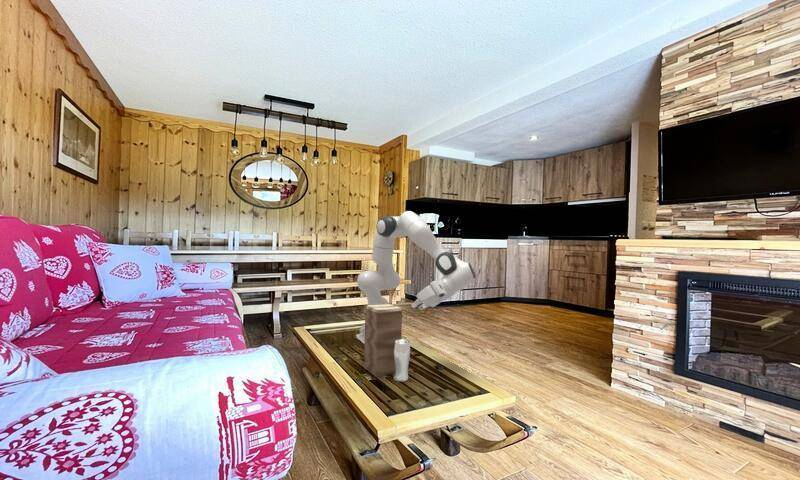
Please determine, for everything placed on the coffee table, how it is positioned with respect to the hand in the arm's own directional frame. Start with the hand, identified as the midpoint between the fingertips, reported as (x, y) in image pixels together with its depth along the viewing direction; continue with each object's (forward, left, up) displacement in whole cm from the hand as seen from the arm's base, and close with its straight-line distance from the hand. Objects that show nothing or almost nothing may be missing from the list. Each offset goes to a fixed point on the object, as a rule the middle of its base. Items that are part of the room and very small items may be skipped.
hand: (415, 307), depth 149 cm
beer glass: (+6, -11, -27) cm, 30 cm away
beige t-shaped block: (-6, -8, -1) cm, 10 cm away
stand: (-6, -13, -27) cm, 30 cm away
